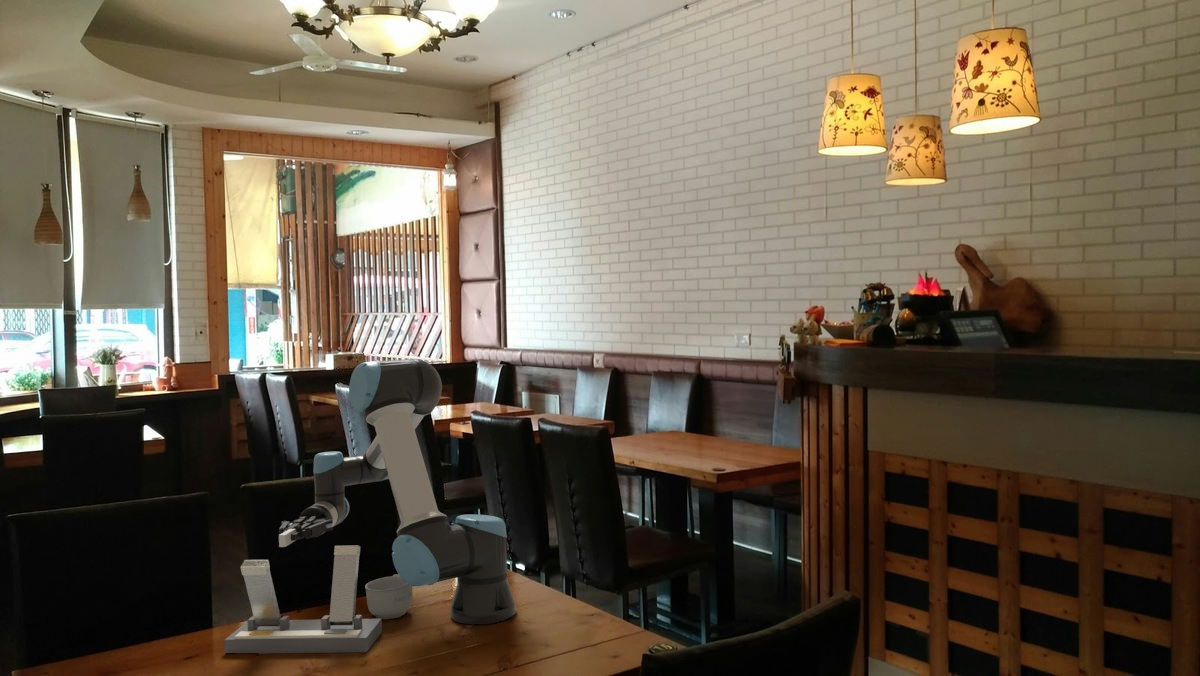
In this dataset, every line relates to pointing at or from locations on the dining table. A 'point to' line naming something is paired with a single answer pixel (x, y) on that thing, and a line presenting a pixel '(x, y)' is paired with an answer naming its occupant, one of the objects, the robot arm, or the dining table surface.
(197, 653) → the dining table surface
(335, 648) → the grey stand base
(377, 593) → the teacup
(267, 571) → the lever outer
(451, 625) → the dining table surface
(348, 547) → the lever inner
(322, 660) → the dining table surface
